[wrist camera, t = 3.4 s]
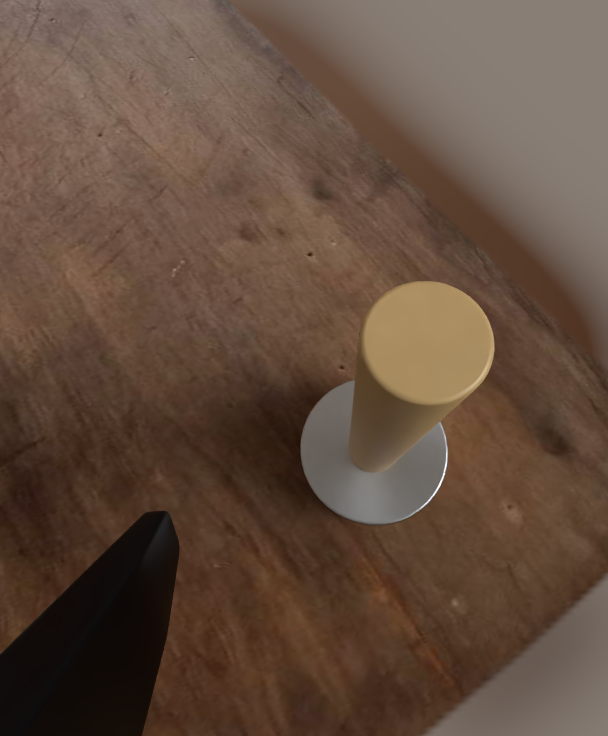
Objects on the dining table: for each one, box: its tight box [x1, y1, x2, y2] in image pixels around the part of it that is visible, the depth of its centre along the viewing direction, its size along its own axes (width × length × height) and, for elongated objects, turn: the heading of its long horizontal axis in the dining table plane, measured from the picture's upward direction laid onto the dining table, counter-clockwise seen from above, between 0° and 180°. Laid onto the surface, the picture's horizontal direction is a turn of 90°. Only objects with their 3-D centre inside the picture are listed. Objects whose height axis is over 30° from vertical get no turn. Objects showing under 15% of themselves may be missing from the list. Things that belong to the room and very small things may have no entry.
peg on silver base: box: [300, 281, 494, 525], centre depth 12 cm, size 5×5×13 cm
